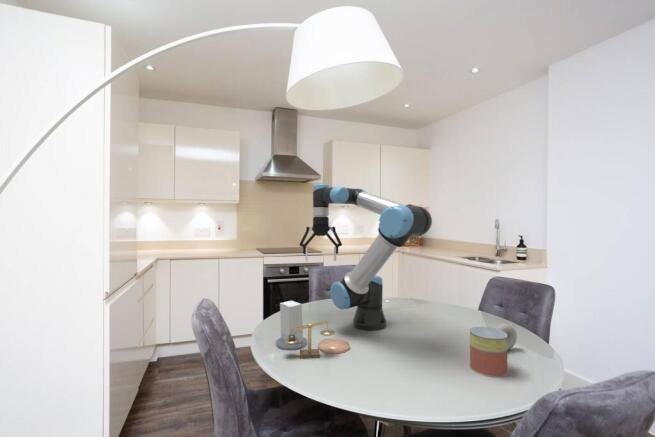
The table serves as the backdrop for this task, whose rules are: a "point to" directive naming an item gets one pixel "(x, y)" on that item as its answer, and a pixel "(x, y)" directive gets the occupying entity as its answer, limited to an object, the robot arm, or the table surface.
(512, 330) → the donut
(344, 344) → the terracotta dish
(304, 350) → the balance
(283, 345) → the slate dish
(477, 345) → the canned food
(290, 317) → the skincare box
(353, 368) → the table surface
